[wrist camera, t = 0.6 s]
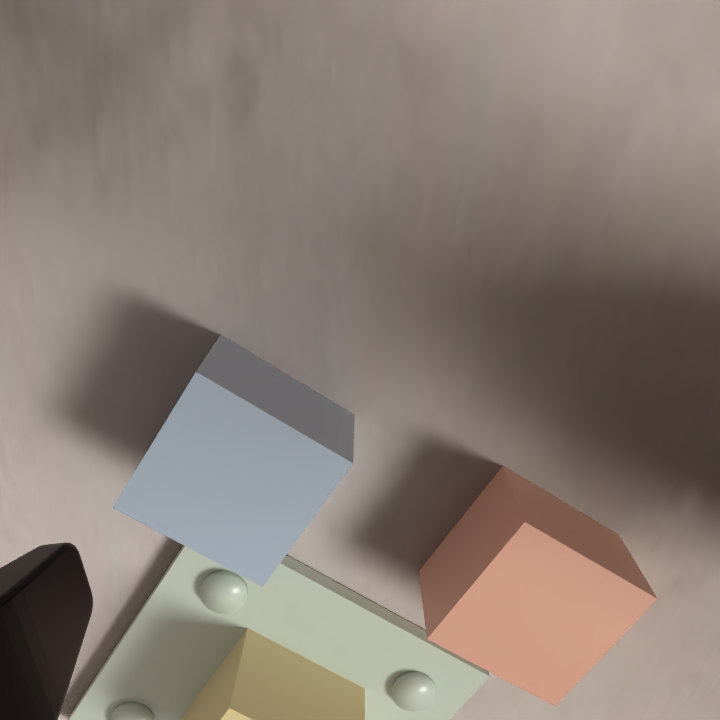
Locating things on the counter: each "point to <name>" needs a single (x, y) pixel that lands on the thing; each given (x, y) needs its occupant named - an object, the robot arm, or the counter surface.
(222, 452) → the brick slate
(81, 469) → the counter surface
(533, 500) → the brick terracotta
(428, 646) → the plate
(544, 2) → the counter surface
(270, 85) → the counter surface
